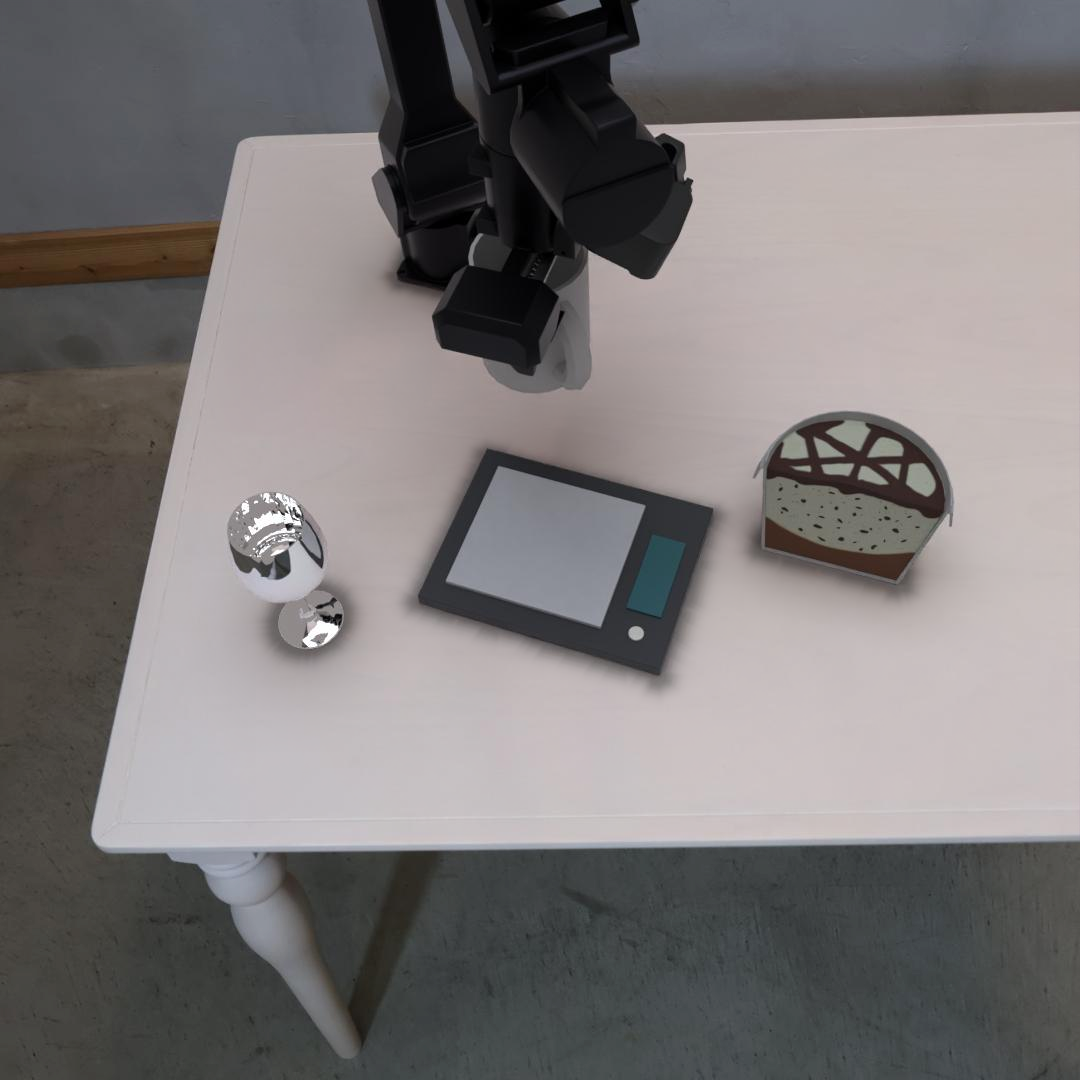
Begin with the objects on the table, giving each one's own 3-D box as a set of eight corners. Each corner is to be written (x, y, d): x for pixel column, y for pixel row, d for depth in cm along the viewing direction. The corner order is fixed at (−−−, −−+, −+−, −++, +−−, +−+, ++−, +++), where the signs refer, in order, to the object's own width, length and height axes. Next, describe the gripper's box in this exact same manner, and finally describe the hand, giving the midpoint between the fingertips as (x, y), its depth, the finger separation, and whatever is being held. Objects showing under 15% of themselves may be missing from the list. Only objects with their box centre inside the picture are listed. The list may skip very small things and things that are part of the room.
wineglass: (286, 672, 74) (236, 582, 64) (257, 605, 77) (204, 508, 67) (366, 634, 76) (329, 540, 65) (334, 569, 78) (294, 469, 68)
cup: (554, 300, 78) (548, 197, 70) (634, 394, 73) (637, 294, 65) (462, 343, 76) (447, 242, 68) (538, 442, 71) (530, 345, 64)
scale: (419, 603, 77) (416, 593, 76) (488, 455, 83) (486, 444, 82) (659, 675, 73) (660, 666, 72) (712, 515, 79) (714, 504, 78)
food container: (935, 516, 78) (975, 429, 70) (920, 590, 75) (960, 508, 67) (760, 474, 81) (778, 384, 72) (739, 543, 78) (756, 458, 69)
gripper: (627, 278, 53) (624, 472, 66) (727, 42, 62) (706, 254, 75) (409, 232, 55) (448, 428, 68) (536, 11, 64) (548, 222, 78)
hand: (546, 329), depth 72 cm, fingers closed on cup, 7 cm apart
